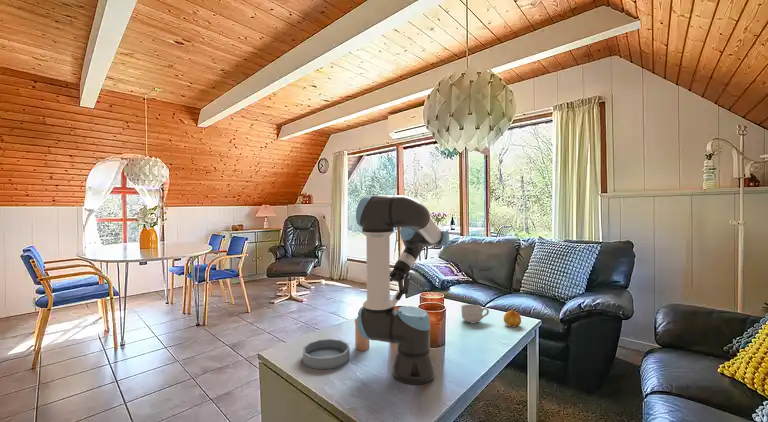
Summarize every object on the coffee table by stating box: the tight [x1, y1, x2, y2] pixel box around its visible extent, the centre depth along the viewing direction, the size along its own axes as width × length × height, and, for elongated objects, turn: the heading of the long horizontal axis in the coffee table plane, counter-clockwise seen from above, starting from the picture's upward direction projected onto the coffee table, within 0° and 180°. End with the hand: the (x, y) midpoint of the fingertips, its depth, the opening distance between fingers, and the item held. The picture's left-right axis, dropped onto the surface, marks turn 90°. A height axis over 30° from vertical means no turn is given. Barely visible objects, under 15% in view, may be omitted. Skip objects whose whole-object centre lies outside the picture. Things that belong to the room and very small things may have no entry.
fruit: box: [503, 309, 522, 327], centre depth 176 cm, size 8×8×8 cm
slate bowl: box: [302, 338, 351, 370], centre depth 138 cm, size 18×18×4 cm
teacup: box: [460, 304, 490, 323], centre depth 181 cm, size 14×11×8 cm
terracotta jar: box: [354, 318, 370, 352], centre depth 148 cm, size 7×7×12 cm
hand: (381, 302), depth 155 cm, fingers open, 13 cm apart
